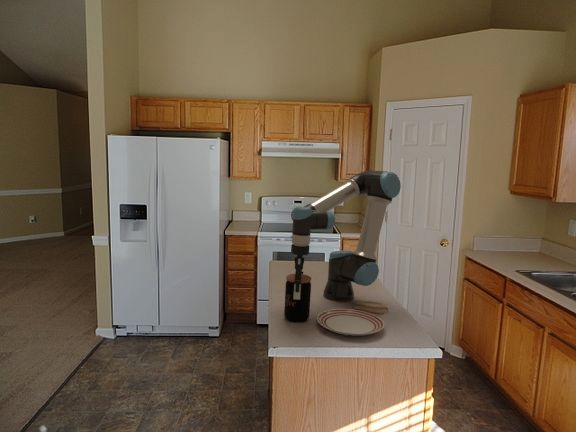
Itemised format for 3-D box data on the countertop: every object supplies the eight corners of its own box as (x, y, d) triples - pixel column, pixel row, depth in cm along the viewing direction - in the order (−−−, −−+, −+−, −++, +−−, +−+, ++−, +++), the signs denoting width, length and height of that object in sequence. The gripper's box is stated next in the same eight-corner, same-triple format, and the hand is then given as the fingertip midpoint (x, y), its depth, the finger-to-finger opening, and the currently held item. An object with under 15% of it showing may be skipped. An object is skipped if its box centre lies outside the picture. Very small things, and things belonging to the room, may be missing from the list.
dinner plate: (305, 317, 172) (306, 310, 172) (361, 311, 182) (361, 304, 182) (335, 345, 147) (335, 337, 147) (397, 337, 157) (398, 329, 156)
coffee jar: (281, 314, 174) (282, 274, 172) (304, 312, 177) (306, 273, 175) (288, 324, 164) (290, 281, 162) (312, 322, 167) (315, 280, 165)
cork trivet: (351, 301, 195) (351, 300, 195) (384, 303, 194) (385, 302, 194) (355, 313, 179) (355, 312, 179) (391, 315, 178) (391, 314, 178)
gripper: (292, 238, 179) (289, 284, 181) (290, 250, 154) (286, 303, 157) (309, 239, 178) (306, 285, 181) (309, 251, 154) (305, 304, 156)
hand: (297, 293), depth 169 cm, fingers open, 13 cm apart
